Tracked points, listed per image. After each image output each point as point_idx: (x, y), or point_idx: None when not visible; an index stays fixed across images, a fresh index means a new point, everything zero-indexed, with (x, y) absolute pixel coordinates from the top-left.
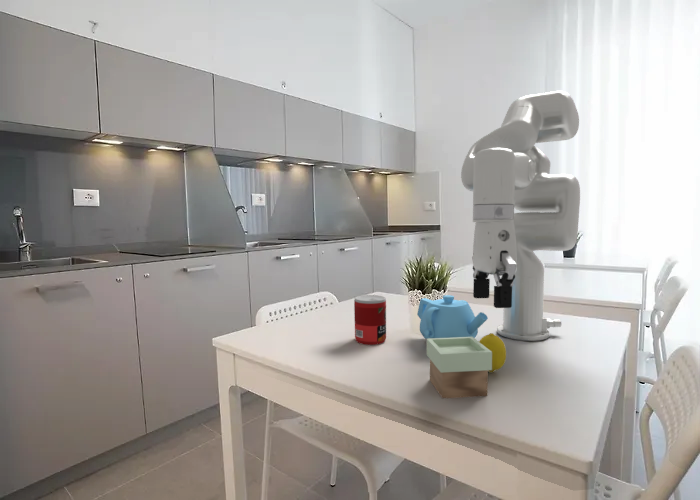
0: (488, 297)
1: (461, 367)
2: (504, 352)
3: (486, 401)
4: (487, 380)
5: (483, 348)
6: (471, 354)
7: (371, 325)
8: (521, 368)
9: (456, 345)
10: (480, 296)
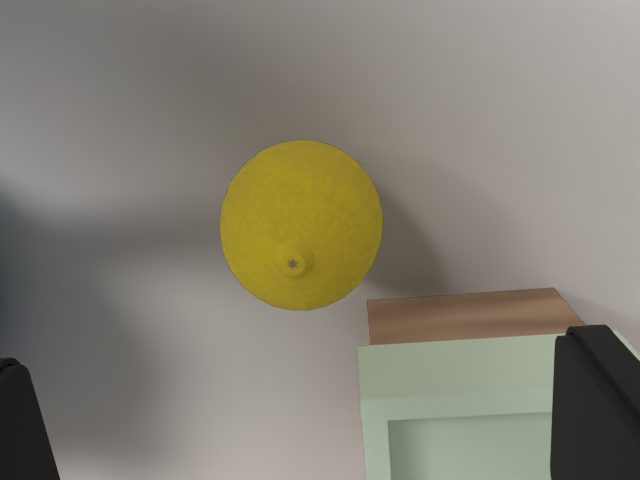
0: (15, 361)
1: None
2: (361, 174)
3: (599, 306)
4: (579, 318)
5: None
6: None
7: None
8: (252, 12)
9: (400, 465)
10: (45, 458)
